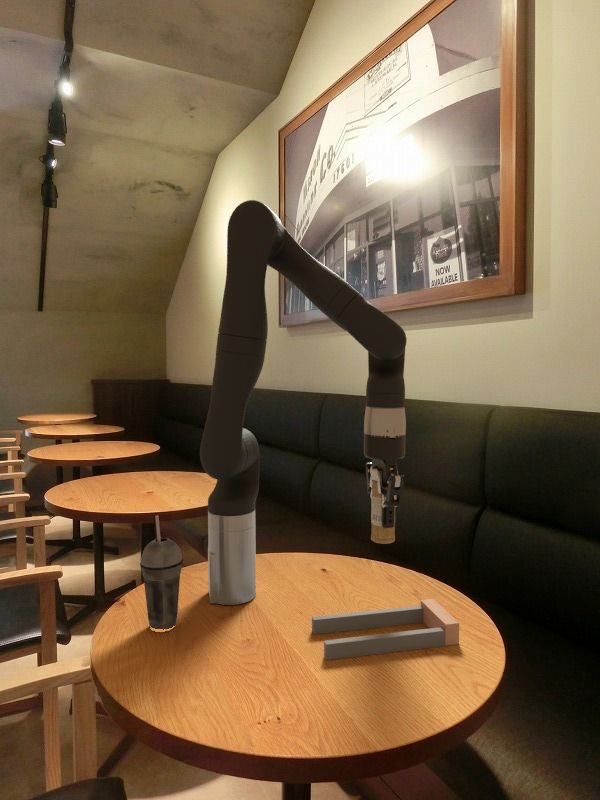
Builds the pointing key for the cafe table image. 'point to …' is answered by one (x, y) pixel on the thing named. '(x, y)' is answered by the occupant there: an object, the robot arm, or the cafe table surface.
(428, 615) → the guide channel
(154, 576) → the beverage cup
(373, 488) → the sprinkles bottle
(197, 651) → the cafe table surface
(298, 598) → the cafe table surface
